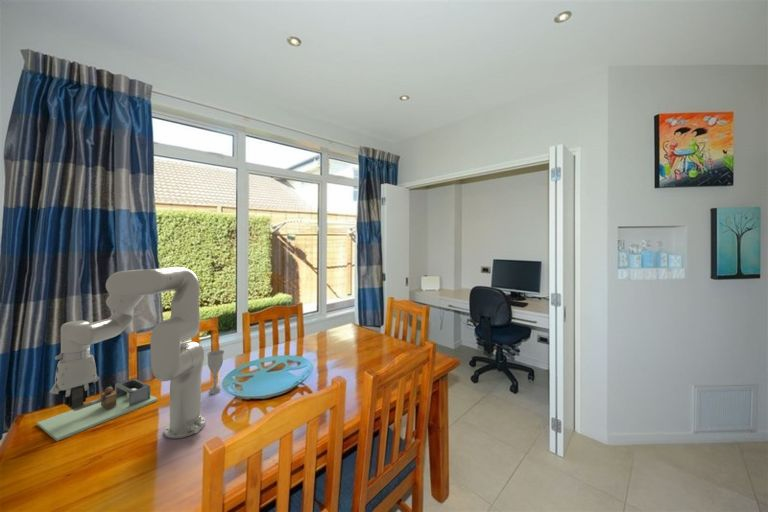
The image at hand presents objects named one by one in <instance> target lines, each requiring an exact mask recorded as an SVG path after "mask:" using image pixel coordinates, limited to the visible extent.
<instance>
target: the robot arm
mask: <svg viewBox="0 0 768 512" xmlns="http://www.w3.org/2000/svg"><path fill="white" fill-rule="evenodd" d="M198 278H199V277H197V275H196V274H195V272H194V271H192V270H191V269H189V268H186V267H184V266H183V267H182V266H168V267H167V266H166V267H159V268H148V269H129V270H121V271H115V272H114V273H112V274H111V275H110V276H108V278H107V279H106V282H105V289H106V291H107V292H108V294H109V296H108V297H107V298H106V300H105V304H106V306H107V307H108V308H109V309H110V310H112V311H113V313H112V314H111V315H110V316H109V317H108V318H104V319H101V320H97V321H94V322H89V321H87V320H84V319H83V320H73V321H68V322H65V323H63V324H62V325H61V327H60V352H59V354H58V355H56V356H55V357H54V360H55V361H57V360H59V361H58V363H57V365H56V369H55V377H54V384H53V385H52V388H51V389H50V390H49V393H50V394H52V395H61V396H63V404H64V405H65V406H67V407H68V408H69V407H71V406H72V396H71V394H70V392H71V388H74V387H77V386H82V387H83V403H87V401H86V400H87V398H88V391H89V390H90V388H91V387H92V386H93V384H95V383H97V382H98V381H99V380H100V379H101V377H100V376H98V374H97V367H96V362H95V361H96V360H95V357H94V355H93V354H91V345H94V344H98V343H100V342H102V341H106V340H109V339H112V338H114V337H117V336H119V335H120V334H122V333H123V332H124V330H126V329H127V328H128V327H129V326H130V324H131V323H132V322H133V320H134V316H135V310H134V308H136V306H137V305H138V304H139V303H140V302H141V301H142V300H143V298H145V296H147V295H157V294H161V293H166V292H171V291H175V292H174V295H173V296H172V299H171V303H170V318H166V319H165V320H162V321H160V322H158V323H157V324H156V325H155V326H154V328H153V329H152V331H151V334H150V368H151V372H152V375H153V377H154V378H155V379H156V380H158V381H161V382H169V381H170V382H169V383H170V384H169V424H167V425H166V427H164V431H163V434H164V436H165V437H166V438H169V439H175V440H176V439H183V438H186V437H189V436H192V435H194V434H198V433H199V432H200V431H201V430H202V429H203V428H204V426H205V424H206V418H205V417H204V416H202V415H201V412H202V409H201V408H202V407H201V406H202V405H201V403H202V371H203V366H204V365H203V364H204V360H205V350H204V347H203V346H202V345H201V343H198V342H196V341H189V340H191V339H193V338H195V337H196V336H197V335H198V334H199V331H200V325H201V324H200V281H199V279H198Z"/></svg>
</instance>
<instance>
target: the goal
mask: <svg viewBox="0 0 768 512" xmlns="http://www.w3.org/2000/svg"><path fill="white" fill-rule="evenodd" d="M133 388H136V389H137V390H134V391H133V390H131V389H133ZM114 393H116V398H118V397H121V396H124V395H127V393H129V406H132V405H135V404H137V403H140V402H142V401H145V400H148V399H150V395H151V384H147V383H145V382H143V381H141V380H139V379H136V378H132V379H129V380H126V381H123V382H120V383H119V382H116V383H115V384H114Z"/></svg>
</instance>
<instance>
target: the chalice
mask: <svg viewBox="0 0 768 512" xmlns="http://www.w3.org/2000/svg"><path fill="white" fill-rule="evenodd" d="M224 353H225V351H224V350H222V349H215V350H211V351H209V352H207V353H206V356H207V367H208V369H209V370H210V372H211V374H213V380H212V382H213V385H212V386H211V387H210V389H209V391H208V394H209V395H217V394H219V393H220V391H222V389H221V385H218V384H217V382H218V380H217V378H218V376H217V374H218V373H219V371H220V370H221V369H222V366H223V363H224ZM216 393H217V394H216Z"/></svg>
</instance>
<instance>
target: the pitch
mask: <svg viewBox="0 0 768 512" xmlns="http://www.w3.org/2000/svg"><path fill="white" fill-rule="evenodd" d="M158 399H159V398H157V397H156V396H153V395H152V394H150V399H148V400H145V401H142V402H140V403H137V404H135V405H132V406H129V398H128V397H127V395H124V396H121V397H118V398H116V406H114V407H112V408H109V409H106V408H104V407H102V406H101V402H100V403H97V404H94V405H91V406H88V407H86V408H83V409H80V410H77V411H73V409H70V410H68V411H65V412H62V413H60V414H57V415H54V416H51V417H49V418H45V419H42V420H40V421H37V422H36V423H37V424H36V426H38V427H39V428H40V429H41V430H43V431H44V432H45V433H46V434H48V435H49V436H50V437H51V438H52V439H54V441H56V442H58V441H60V440H63V439H66V438H69V437H71V436H74V435H76V434H79V433H81V432H83V431H85V430H88V429H90V428H93V427H95V426H99V425H100V424H103V423H105V422H108V421H111V420H113V419H116V418H118V417H120V416H123V415H126V414H127V413H130V412H132V411H135V410H138V409H140V408H143V407H146V406H148V405H150V404H152V403H154V402H158Z"/></svg>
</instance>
